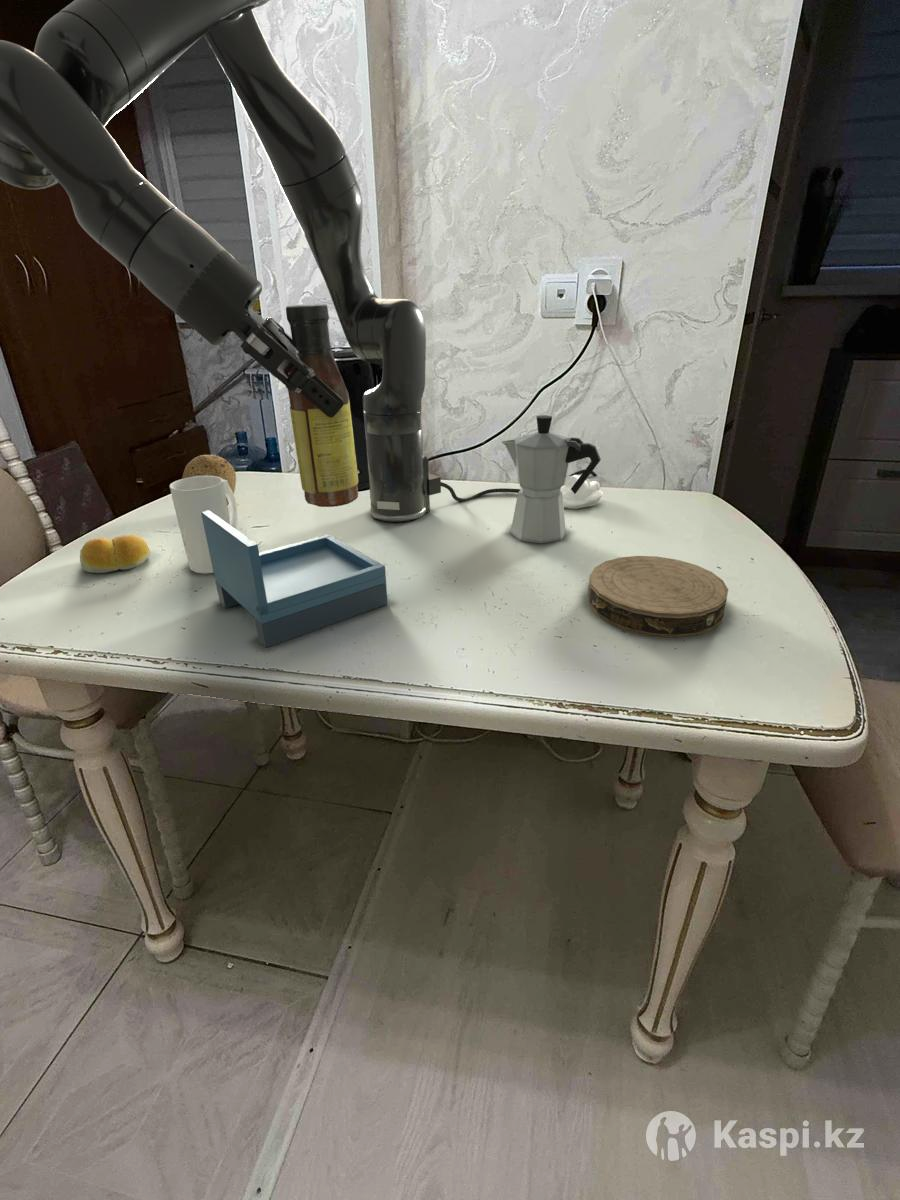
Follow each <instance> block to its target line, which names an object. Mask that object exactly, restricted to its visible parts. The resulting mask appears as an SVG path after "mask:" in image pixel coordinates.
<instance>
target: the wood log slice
mask: <svg viewBox="0 0 900 1200" xmlns="http://www.w3.org/2000/svg"><path fill="white" fill-rule="evenodd" d="M592 569H593V570H592V571H591V572H590V574H589V581H588V593H587V600H588V606H589V607H590V609H591V611H593V613H594V614H595V615H596V616H597V617H599V618H600V619H602V620H604V621H605V622H607V623H608V624H610V625H612V626H615V627H616V628H620V629H623V630H625V631H628V632H631V633H635V634H640V635H644V636H650V637H657V638H658V637H659V638H684V637H693V636H698V635H702V634H704V633H707V632H710V631H712V630H714V629H715V628H716V627H718V626H719V625H720V624H721V623H722V622H723V618H724V615H725V608H726V605H727V599H728V593H729V588H728V586H727V584H726V583H725V581H724V580H723V579H722V578H721V577H719V576H718V575H717V574H715V573H714V572H712V571H710V570H708V569H706V568H704V567H701V566H700V565H697V564H695V563H691V562H687V561H684V560H680V559H676V558H668V557H663V556H656V555H655V556H654V555H653V556H651V555H650V556H649V555H632V556H622V557H621V556H619V557H616V558H612V559H609V560H605V561H604V562H601V563H599V564H598V565H596V566H594V568H592Z"/></svg>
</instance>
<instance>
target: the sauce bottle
mask: <svg viewBox="0 0 900 1200" xmlns="http://www.w3.org/2000/svg"><path fill="white" fill-rule="evenodd" d="M285 315H286V320H287V322H288V324H289V327H290V334H291V335H290V336H291V337H292V342H293V345H294V346H295V347H296V348H297V349H298V350H299V351H300V352H301V353H302V358H301V359H302V361H303V362H304V363H305V364H306V365H307V366H308V367H309V368H310V367H311V368H312V369H313V370H314V373H315V374H316V375H315V376H318V377H319V378H320V379H321V380H322V381H323V382H324V383H325V384H326V385H327V386H329V387H330V388H331V389H332V390H333V391H334V392H335V393H336V394H337V395H338V396H340V397H341V398H342V399H343V403H344V404H343V407H342V408H341V409H340V410H339V411H338V412H337V414H336V415H335V416H334V417H328V416H327V415H325V414H324V413H323V412H322V411H321V410H320V409H319V408H318V407H316V406H315V405H314V404H313V403H312V402H311V401H310V400H308V399H307V398H306V397H305V396H304V395H303V394H302V392H301V393H300V394H299V393H298V392H295V391H294V392H293V391H291V390H288V389H287V393H288V400H289V412H290V420H291V427H292V432H293V439H294V447H295V453H296V458H297V464H298V471H299V477H300V484H301V489H302V491H303V494H304V500H305V502H306V503H307V504H309V505H313V506H317V507H320V508H333V507H341V506H345V505H349V504H350V503H353V502H354V501H355V500H357V499H358V497H359V488H358V486H359V485H358V484H359V473H358V465H357V464H358V463H357V455H356V449H355V448H356V446H355V438H354V429H353V419H352V411H351V403H350V395H349V392H348V389H347V386H346V384H345V381H344V379H343V376H342V375H341V373H340V369H339V367H338V365H337V362H336V358H335V357H334V353H333V352H332V345H331V339H330V332H329V320H330V314H329V307H328V305H327V304H325V303H322V304H320V303H316V304H315V303H314V304H313V303H312V304H293V305H287V306H285ZM295 368H296V366H294V367H293V368H292V369H291V370H290V372H289V376H290V374H291V373H292V372H293V371H294V370H295ZM315 376H314V377H315Z"/></svg>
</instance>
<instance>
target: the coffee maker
mask: <svg viewBox="0 0 900 1200" xmlns="http://www.w3.org/2000/svg"><path fill="white" fill-rule="evenodd" d="M552 420H553V416H552V415H547V414H544V415H543V414H541V415H540V414H539V415H536V426H537V432H534V433H529V434H526V435H523V436H519V437H515V438H513V439H508V440H503V441H501V442H500V443H501V444H502V445H504V446H505V448H506V449H507V451H508V454H509V456H510V458H511V460H512V462H513V464H514V466H515V470H516V476H517V477H516V478H517V482H518V484H519V487H520V488H519V489H520V491H519V492H518V493H517V497H516V502H515V505H514V512H513V517H512V522H511V528H510V532H509V534H510V535H512V536H513V537H515V538H516V539H517V540H519V541H520V542H528V543H533V544H534V543H535V544H546V543H552V542H558V541H562V539H563V538H564V536H565V535H566V533H567V530H566V529H567V528H566V518H565V507H563V496H562V492H561V491H560V489H561V487H562V486H563V485H564V483H565V478H566V476H567V473H568V468H569V464H570V463H573V462H577V461H580V460H583V459H586V458H589V459H590V463H589V464H588V465H587V467H586V468H585V469H584V470H585V471H584V472H583V473H582V474H580V475H581V476H580V477H579V479H578V480H577V481H576V483H575V484H574V485H573V487H572V488H571V490H572V491H573V492H574V494H576V492H577V491H578V490H579V488H580V487H581V486H582V484H583V483H584V482H585V480H586V479H587V478H588V479H589V477H590V475H592V474H591V472H592V471H593V472H594V470H595V468H596V467H597V466H598V464H599V463H600V462H601V461H602V460H601V459H602V458H601V457H600V456H601V455H600V454H599V451H598V448H597V447H596V445H594V444H592V443H590V442H585V443H584V441H582V439H581V438H580V437H567V436H564V435H561V434H556V433H554V432H550V429H551V425H552Z"/></svg>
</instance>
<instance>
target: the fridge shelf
mask: <svg viewBox="0 0 900 1200" xmlns="http://www.w3.org/2000/svg"><path fill="white" fill-rule="evenodd" d="M201 515H202V520H203V524H204V529H205V534H206V539H207V544H208V548H209V553H210V558H211V563H212V568H213V573H212V574H213V576H214V581H215V587H216V591H217V596H218V601H219V603H220V605H221V606H222V607H223V608H225V609H228V608H232V607H235V606H238V605H240V606H242V607H243V608H244V609H245V610H246V611H247V612H248V613H249V614H250V615H252V616H253V617H254V623H255V627H256V632H257V638H258V641H259V642H260V643H261V644H262V646H263V647H265V648H269V647H272V646H275V645H277V644H278V645H279V644H281V643H283V642H286V641H289V640H291V639H294V638H298V637H300V636H304V635H306V634H309V633H311V632H314V631H317V630H319V629H322V628H325V627H328V626H331V625H334V624H337V623H339V622H342V621H345V620H347V619H350V618H353V617H356V616H359V615H361V614H364V613H368V612H369V611H374V610H376V609H378V608H381V607H383V606H386V605H388V604H389V603H388V589H387V576H386V566H385V565H384V564H382V563H380V562H378V561H377V560H375V559H374V558H372V557H370V556H368V555H366V554H365V553H363V552H361V551H359V550H357V549H355V548H354V547H352V546H351V545H348V544H347V543H345V542H344V541H342V540H340V539H338V538H337V537H335V536H333V535H332V534H330V533H326V534H323V535H319V536H316V537H315V536H314V537H312V538H307V539H304V540H300V541H297V542H293V543H289V544H286V545H282V546H278V547H275V548H271V549H268V550H263V551H260V552H259V545H258V543H256V542H254V540H252V539H250V537H248V536H246V535H245V534H244V533H242V532H241V531H239V530H238V529H237V528H236V529H235V528H234V527H232V526H231V525H229V524H228V523H227V522H225V521H224V520H222V519H221V518H220V517H218V516H217V515H215V514H214V513H212V512H211V511H210V510H207V511H203V512H201Z"/></svg>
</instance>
